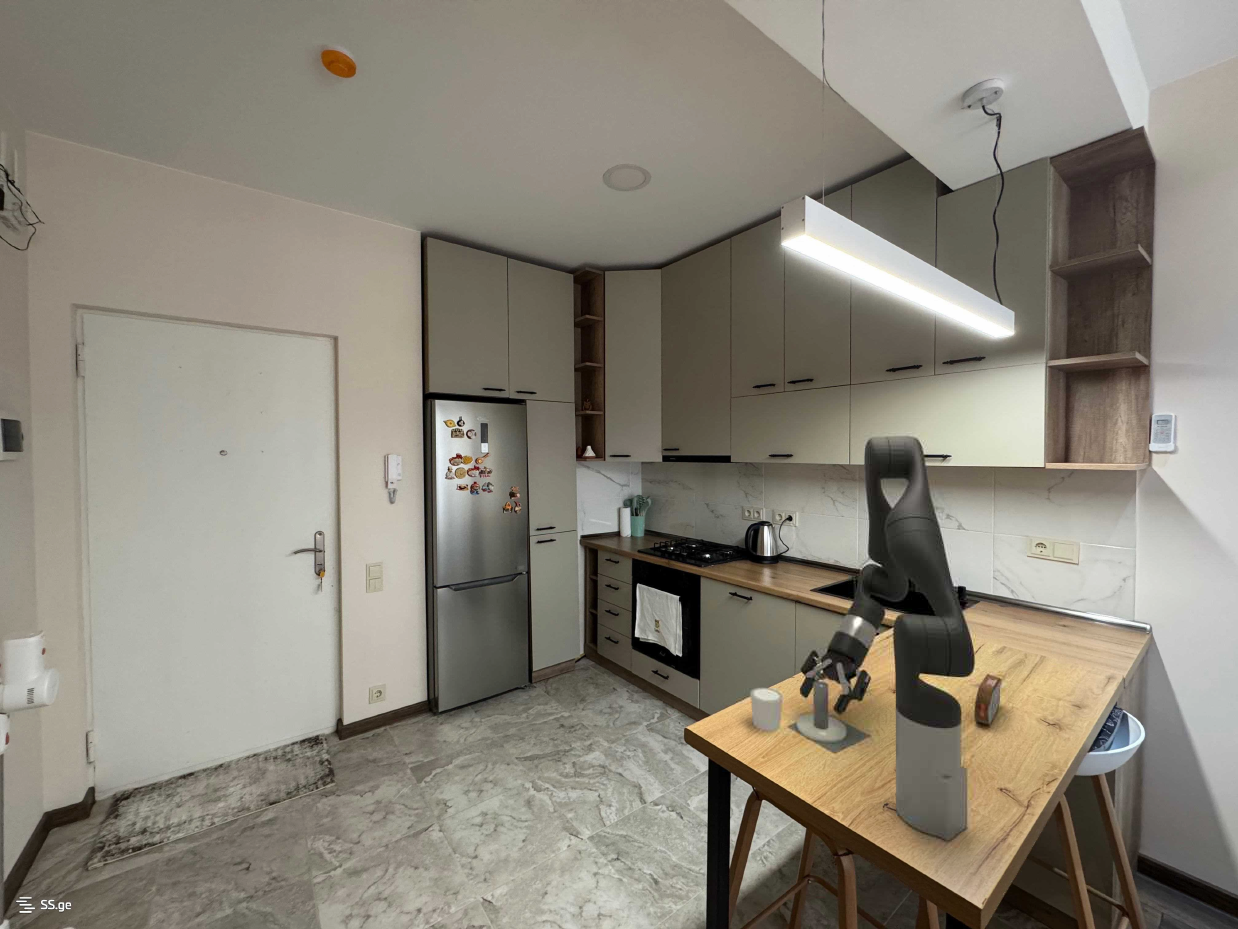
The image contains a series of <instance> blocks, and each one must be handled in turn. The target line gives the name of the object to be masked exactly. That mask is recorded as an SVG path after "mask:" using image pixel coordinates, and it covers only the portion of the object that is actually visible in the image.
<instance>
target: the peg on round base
mask: <svg viewBox="0 0 1238 929" xmlns="http://www.w3.org/2000/svg"><path fill="white" fill-rule="evenodd" d="M812 689H813V691H812V694H813V698H812V699H813V700H812V701H813V706H812V707H813V708H812V709H813V713H807V714H802V715H800V716H798V718H797V719H796V722H797V730H798V731H799V732H800V733H801V734H802V735H803V736H802V735H801V734H800V735H801V736H802V737H804V736H805V737H804V738H806V739H808V740H809V739H811V740H813V741H817V742H821V743H838V742H841V741H843V740H844V739H845V738H846V727H845V726H844V725H843V724H842V723H841V722H840V721H838V720H837V719H838V718H837V719H834V718H832V717H829V716H828V714H829V684H828V683H826V682H824V681H822V680H819V681H816V682H814V683H813V688H812ZM811 740H810V741H811ZM813 741H812V742H813Z"/></svg>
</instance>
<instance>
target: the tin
mask: <svg viewBox="0 0 1238 929" xmlns="http://www.w3.org/2000/svg"><path fill="white" fill-rule="evenodd" d="M1001 686H1002V678H1001V677H998V676H996V675H995V676H994V675H992V674H989V673H987V674H986V675H985V676H984V678H983V679H982V680H981V682H980V683H979V685H978V688H977V693H976V696H975V702H974V713H973V714H974V715H973V716H974V721H975V722H978V723H982V724H985V725H989V726H990V725H991V723H992V722H993V720H994V718H995V717H996V715H997V713H998V710H999V707H1000V702H1001V701H1000V700H1001V696H1000V695H1001Z"/></svg>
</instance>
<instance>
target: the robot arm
mask: <svg viewBox="0 0 1238 929" xmlns="http://www.w3.org/2000/svg"><path fill="white" fill-rule="evenodd" d="M863 455H864V460H863V462H864V464H863V465H864V478H865V493H866V503H867V512H868V513H867V514H868V538H867V540H868V543H867V544H868V545H867V554H868V557H869V559H870V560H871V561H873V562H874V563H868V564H866V565H864V566H863V567H862V568H861V569H860V571H859V574H858V577H857V578H858V579H857V585H856V591H855V595H854V597H853V601H852V604H851V606H850V607H849V609H848V611H847V612H846V615H845V616H844V617H843V619H842V620H841V622H840V623H839V625H838V627H837V629H836V630H835V632H834V634H833V636H832V638H831V639H830V642H829V644H828V645H827V650H826V652H825V654H823V655H822V654H820V653H818V651H817V650H815V649H813V650H812V651H811V652H810V654H809V655H808V657H807V658H806V660H805V662H804V663H803V665H802V666H801V668H800V672H801V673H802V674H803V676H804V680H803V682H802V684H801V686H800V688H799V694H800V695H801V696H802V697H803V698H805V699H808V697H809V695H810V694H811V692H812V689H813V683H814V682H816V681H824V680H826V679H827V680H829V681H833V682H836V684H838V685H841V691H842V693H840V694H839V697H838V698H837V700H836V703H834V706H833V711H834V712H835V713H836V714H837V715H839V716H841V715H843V714H844V713H845V712H846V711H847V708H848V707H849V704H850V702H851V701H853V700H854V701H857V702H862V701H863V700H864V697H865V694H866V692H867V689H868V687H869V684H870V683H871V681H872V677H871V676H870V674H869V672H867V670H865V669H860V668H861V667H862V666H863V664H864V661H865V659H866V657H867V655H868V654H869V651H870V650H871V648H872V645H873V643H874V642H875V638H876V635H877V632H878V630H879V628H880V627H881V624H882V623H883V621H884V618H885V615H886V609H885V608H884V606H883V604H881V603H880V602H878V601H877V600H875V599H873V598H872V597H870V596H871V595H874V596H877V597H880V598H881V599H884V600H886V601H887V600H888V601H890V602H901V601H902V600H904V598H906V596H907V594H908V592H909V580H910V582H912V583H913V584H914V585H915V586H916V587H917V589H919V591H920V592H921V593H922V594H923V596H924V597H925V598H926V600H927V601H928V603H929V604H930V606H931V608H932V611H933V612H934V615H928V614H927V615H924V614H911V613H902V614H899V615H897V616H896V618H895V620H894V622H893V630H892V639H893V640H892V641H893V656H894V671H895V673H894V674H895V675H894V676H895V677H894V680H895V683H894V684H895V807H896V808H895V809H896V812H897V814H898V815H899V817H900V818H901V819H902V821H904V822H905V823H907V825H909V826H910V827H912V828H914V829H916V830H917V831H920V832H922V833H925V834H926V835H927V834H928V835H931V836H934V837H935V836H936V837H939V838H941V839H943V840H945V841H947V842H948V841H950V840H952V839H953V838H954V837H956V836H957V835H958V834H959V833H961V832H962V831H963V830H965V829H967V827H968V769H967V767H966V766H963V765H962V706H961V704H960V702H959V700H957V698H956V697H955V696H953V695H952V694H951V693H948V692H947V691H945V690H943V689H941V688H938V687H936V686H935V685H932V684H929V683H927V682H926V681H924V680H923V679H921V678H920V675H929V676H930V675H931V676H937V677H938V676H940V677H949V678H968V677H970V676H971V675H972V674H973V672H974V670H975V665H976V664H975V662H976V661H975V660H976V659H975V650H974V644H973V641H972V636H971V633H970V629H969V626H968V624H967V621H966V618H965V615H964V613H963V609H962V606H961V604H960V601H959V598H958V594H957V592H956V589H955V586H954V583H953V580H952V576H951V572H950V571H951V570H950V567H949V563H948V559H947V555H946V554H947V553H946V549H945V544H944V539H943V534H942V532H941V527H940V524H939V521H938V517H937V514H936V510H935V506H934V503H933V500H932V496H931V491H930V486H929V485H930V484H929V479H928V473H927V466H926V465H927V464H926V460H925V453H924V448H923V446H922V443H921V442H920V440H919V439H918V438H917V437H915V436H910V435H902V436H901V435H899V436H897V435H895V436H891V435H890V436H875V437H874V436H873V437H870V438H869V439H868V440H867V442H866V444H865V448H864V454H863ZM883 479H884V480H885V479H886V480H887V479H891V480H898V479H899V480H900V479H901V480H902V479H903V480H907V486H906V488H905V490H904V492H903V493H902V495H901V497H900V498H899V499H898V500H897V502H896V503H895V504H894V506H893V507H892V506H891V504H890V503H889V501H888V499H887V498H886V496H885V493H884V492H883V488H882V480H883ZM875 563H876V564H875ZM855 678H856V681H855V684H854V686H853V684H852V681H851V680H852V679H855Z"/></svg>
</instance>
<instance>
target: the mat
mask: <svg viewBox="0 0 1238 929" xmlns="http://www.w3.org/2000/svg"><path fill="white" fill-rule="evenodd" d="M828 716H829V717H832V718H834V719H837V720H838V721H840V722H841V723H842V724H843V725H844V726H845V727H846V738H845V739H844V740H843V741H841V742H838V743H821V742H817V741H813V740H811V739H808V740H810V741H812V742H813V743H815V744H817V745H818V746H820V747H821V748H824V749H825V750H827V751H829V752H830V753H833V754H838V753H839V752H842V751H844V750H845V749H848V748H850V747H852V746H854V745H856V744H858V743H861V741H863V740H866V739H868V738H870V737H871V736H872V735H870V734H869V733H866V732H864V731H862V730H860V729H859V728H857V727H854V726H852V725H850V724H848V723H846V722H845V721H842V720H841V719H838V718H837V717H834V715H833V716H832V715H831V714H829V713H828ZM786 727H787V728H788V729H790V730H792V731H794V732H795V733H797V734H799V735H801V736H802V737H804V738H806V737H805V736H803V735H802V734H801V733H800V732H799V731H798V730H797V721H795V722H794V723H791V724H789V725H787V726H786Z"/></svg>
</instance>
